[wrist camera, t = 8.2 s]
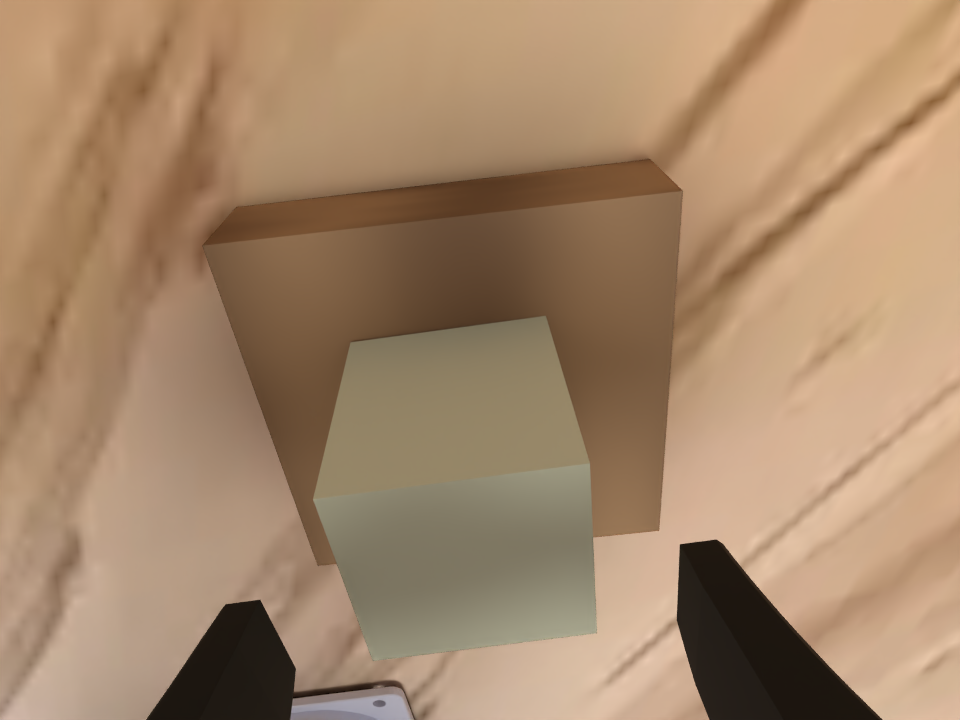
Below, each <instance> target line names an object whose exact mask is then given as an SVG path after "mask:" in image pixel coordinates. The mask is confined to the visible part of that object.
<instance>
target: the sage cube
mask: <svg viewBox="0 0 960 720" xmlns="http://www.w3.org/2000/svg"><path fill="white" fill-rule="evenodd" d="M313 501H314V504H315V506H316V509H317V512H318V514H319V517H320V520H321V522H322V525H323V528H324V530H325V533H326V536H327V539H328V541H329V544H330V547H331V549H332V552H333V555H334V557H335V560H336V563H337V566H338V568H339V571H340V574H341V576H342V579H343V582H344V584H345V587H346V590H347V592H348V595H349V598H350V601H351V603H352V606H353V609H354V611H355V614H356V617H357V619H358V622H359V625H360V628H361V630H362V633H363V636H364V638H365V641H366V644H367V646H368V649H369V652H370V655H371V657H372V660H373V661H377V660H385V659H393V658H401V657H409V656H417V655H426V654H434V653H442V652H450V651H458V650H466V649H474V648H482V647H490V646H498V645H506V644H514V643H522V642H530V641H538V640H546V639H554V638H562V637H570V636H578V635H586V634H594V633H597V623H596V598H595V574H594V549H593V525H592V501H591V476H590V462H589V458H588V455H587V452H586V448H585V445H584V442H583V438H582V435H581V432H580V428H579V425H578V422H577V418H576V415H575V412H574V408H573V405H572V402H571V398H570V395H569V392H568V388H567V385H566V382H565V378H564V375H563V372H562V368H561V365H560V362H559V358H558V355H557V352H556V348H555V345H554V342H553V338H552V335H551V332H550V328H549V325H548V322H547V318H546V316H541V317H533V318H526V319H519V320H511V321H504V322H496V323H489V324H482V325H474V326H467V327H460V328H452V329H445V330H437V331H430V332H423V333H415V334H408V335H401V336H393V337H386V338H378V339H371V340H364V341H356V342H350V347H349V351H348V355H347V359H346V363H345V368H344V372H343V376H342V380H341V384H340V389H339V393H338V397H337V401H336V405H335V409H334V414H333V418H332V422H331V426H330V430H329V435H328V439H327V443H326V447H325V451H324V455H323V460H322V464H321V468H320V472H319V476H318V481H317V485H316V489H315V493H314V497H313Z"/></svg>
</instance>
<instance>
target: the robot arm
mask: <svg viewBox="0 0 960 720" xmlns="http://www.w3.org/2000/svg"><path fill="white" fill-rule="evenodd" d="M677 622H678V626H679V629H680V633H681V636H682V640H683V644H684V647H685V651H686V654H687V657H688V661H689V664H690V668H691V671H692V674H693V678H694V681H695V684H696V686H697V689H698V692H699V694H700V697H701V699H702V702H703V704H704V707H705V709H706V712H707V714H708V717H709V719H710V720H882V719H881V718H880V717H879V716H878V715H877V714H876V713H875V712H874V711H873V710H872V709H871V708H870V707H869V706H868V705H867V704H866V703H865V702H864V701H863V700H862V699H861V698H860V697H859V696H858V695H857V694H856V693H855V692H854V691H853V690H852V689H851V688H850V687H849V686H848V685H847V684H846V683H845V682H844V681H843V680H842V679H841V678H840V677H839V676H838V675H837V674H836V673H835V672H834V671H833V670H832V669H831V668H830V667H829V666H828V665H827V664H826V663H825V661H824V660H823V659H822V658H821V657H820V656H819V655H818V654H817V653H816V652H815V651H814V650H813V649H812V648H811V646H810V645H809V644H808V643H807V642H806V641H805V640H804V639H803V638H802V637H801V636H800V635H799V634H798V633H797V631H796V630H795V629H794V628H793V627H792V626H791V625H790V624H789V623H788V622H787V620H786V619H785V618H784V617H783V616H782V615H781V614H780V613H779V611H778V610H777V609H776V608H775V607H774V606H773V604H772V603H771V602H770V601H769V600H768V599H767V598H766V596H765V595H764V594H763V593H762V592H761V591H760V589H759V588H758V587H757V586H756V585H755V583H754V582H753V581H752V580H751V579H750V577H749V576H748V575H747V574H746V573H745V571H744V570H743V569H742V568H741V566H740V565H739V564H738V563H737V561H736V560H735V559H734V558H733V556H732V555H731V554H730V553H729V551H728V550H727V549H726V547H725V546H724V545H723V544H722V543H721V542H719V541H718V540H710V541H702V542H694V543H687V544H680V556H679V580H678V605H677ZM295 671H296V668H295V666H294V664H293V662H292V660H291V659H290V657H289V655H288V653H287V651H286V649H285V647H284V645H283V643H282V641H281V639H280V637H279V635H278V633H277V631H276V630H275V628H274V626H273V624H272V622H271V620H270V618H269V616H268V614H267V612H266V610H265V608H264V606H263V604H262V602H261V601H260V600H255V601H248V602H240V603H233V604H226V605H225V606H224V607H223V609H222V610H221V611H220V613H219V614H218V616H217V617H216V619H215V620H214V621H213V623H212V624H211V626H210V627H209V629H208V630H207V632H206V633H205V635H204V636H203V638H202V639H201V641H200V642H199V644H198V645H197V647H196V648H195V650H194V651H193V653H192V654H191V656H190V657H189V659H188V660H187V662H186V663H185V665H184V666H183V667H182V669H181V670H180V672H179V673H178V675H177V676H176V678H175V679H174V681H173V682H172V684H171V685H170V687H169V688H168V689H167V691H166V692H165V694H164V695H163V697H162V698H161V699H160V701H159V702H158V704H157V705H156V707H155V708H154V709H153V711H152V712H151V714H150V715H149V716H148V718H147V719H146V720H414V718H413V715H412V713H411V710H410V707H409V705H408V702H407V699H406V697H405V694H404V692H403V691H402V689H400V688H398V687H382V688H374V689H366V690H358V691H350V692H342V693H334V694H326V695H318V696H310V697H302V698H294V699H293V691H294V681H295Z"/></svg>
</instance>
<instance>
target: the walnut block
mask: <svg viewBox="0 0 960 720" xmlns="http://www.w3.org/2000/svg"><path fill="white" fill-rule="evenodd" d="M682 196H683V191H682V190H681V189H680V188H679V187H678V186H677V185H676V184H675V183H674V182H673V181H672V180H671V179H670V178H669V177H668V176H667V175H666V174H665V173H664V172H663V171H662V170H661V169H660V168H659V167H658V166H657V165H656V164H654V163H653V162H652V161H651V160H650V159H648V160H639V161H630V162H622V163H613V164H605V165H596V166H587V167H579V168H570V169H562V170H553V171H544V172H536V173H527V174H519V175H510V176H501V177H493V178H484V179H476V180H467V181H458V182H450V183H441V184H432V185H424V186H415V187H407V188H398V189H389V190H381V191H372V192H364V193H355V194H346V195H338V196H329V197H321V198H312V199H303V200H295V201H286V202H278V203H269V204H260V205H252V206H243V207H236V208H235V209H234V211H233V212H232V213H231V214H230V215H229V216H228V217H227V218H226V220H225V221H224V222H223V223H222V224H221V225H220V226H219V227H218V229H217V230H216V231H215V232H214V233H213V234H212V235H211V237H210V238H209V239H208V240H207V241H206V242H205V243H204V244H203V249H204V252H205V255H206V257H207V260H208V263H209V266H210V268H211V271H212V274H213V277H214V280H215V282H216V285H217V288H218V291H219V293H220V296H221V299H222V302H223V304H224V307H225V310H226V313H227V316H228V318H229V321H230V324H231V327H232V329H233V332H234V335H235V338H236V341H237V343H238V346H239V349H240V352H241V354H242V357H243V360H244V363H245V365H246V368H247V371H248V374H249V377H250V379H251V382H252V385H253V388H254V390H255V393H256V396H257V399H258V401H259V404H260V407H261V410H262V413H263V415H264V418H265V421H266V424H267V426H268V429H269V432H270V435H271V438H272V440H273V443H274V446H275V449H276V451H277V454H278V457H279V460H280V462H281V465H282V468H283V471H284V474H285V476H286V479H287V482H288V485H289V487H290V490H291V493H292V496H293V498H294V501H295V504H296V507H297V510H298V512H299V515H300V518H301V521H302V523H303V526H304V529H305V532H306V534H307V537H308V540H309V543H310V546H311V548H312V551H313V554H314V557H315V559H316V562H317V565H318V566H320V565H330V564H337V563H336V560H335V557H334V555H333V552H332V549H331V547H330V544H329V541H328V539H327V536H326V533H325V530H324V528H323V525H322V522H321V520H320V517H319V514H318V512H317V509H316V506H315V504H314V501H313V497H314V493H315V489H316V485H317V481H318V476H319V472H320V468H321V464H322V460H323V455H324V451H325V447H326V443H327V439H328V435H329V430H330V426H331V422H332V418H333V414H334V409H335V405H336V401H337V397H338V393H339V389H340V384H341V380H342V376H343V372H344V368H345V363H346V359H347V355H348V351H349V347H350V342H356V341H364V340H371V339H378V338H386V337H393V336H401V335H408V334H415V333H423V332H430V331H437V330H445V329H452V328H460V327H467V326H474V325H482V324H489V323H496V322H504V321H511V320H519V319H526V318H533V317H541V316H546V318H547V322H548V325H549V328H550V332H551V335H552V338H553V342H554V345H555V348H556V352H557V355H558V358H559V362H560V365H561V368H562V372H563V375H564V378H565V382H566V385H567V388H568V392H569V395H570V398H571V402H572V405H573V408H574V412H575V415H576V418H577V422H578V425H579V428H580V432H581V435H582V438H583V442H584V445H585V448H586V452H587V455H588V458H589V462H590V476H591V501H592V525H593V537H602V536H612V535H622V534H631V533H641V532H651V531H659V525H660V511H661V497H662V482H663V468H664V454H665V439H666V425H667V411H668V396H669V382H670V368H671V353H672V339H673V325H674V311H675V296H676V282H677V268H678V253H679V239H680V225H681V210H682Z"/></svg>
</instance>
